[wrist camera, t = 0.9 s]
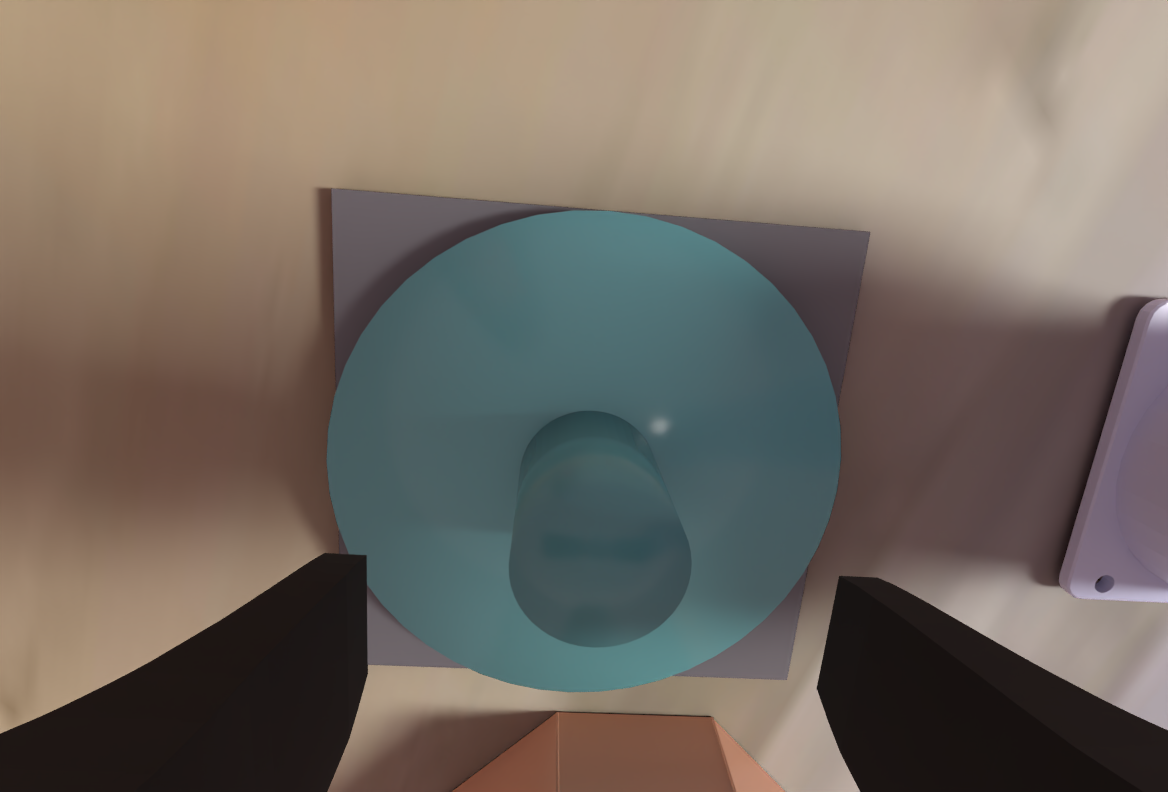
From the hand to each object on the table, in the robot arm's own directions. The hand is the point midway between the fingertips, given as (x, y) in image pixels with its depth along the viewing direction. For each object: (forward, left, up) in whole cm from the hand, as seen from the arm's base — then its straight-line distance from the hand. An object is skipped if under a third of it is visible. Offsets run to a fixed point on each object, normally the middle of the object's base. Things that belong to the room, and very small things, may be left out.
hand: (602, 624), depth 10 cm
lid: (0, 0, -7) cm, 7 cm away
